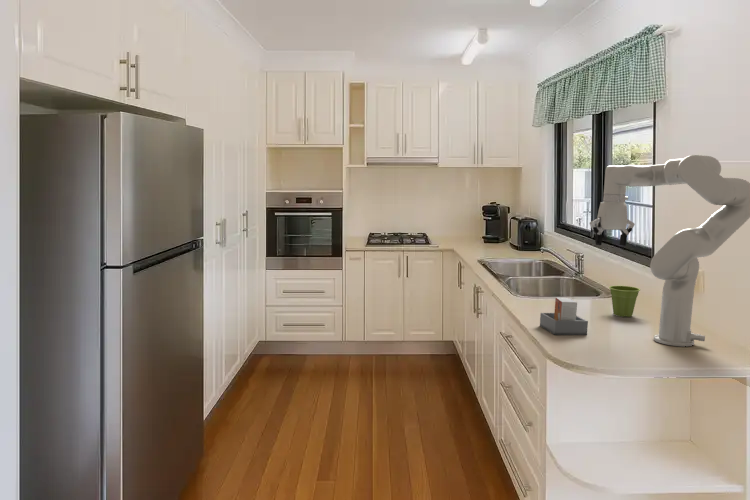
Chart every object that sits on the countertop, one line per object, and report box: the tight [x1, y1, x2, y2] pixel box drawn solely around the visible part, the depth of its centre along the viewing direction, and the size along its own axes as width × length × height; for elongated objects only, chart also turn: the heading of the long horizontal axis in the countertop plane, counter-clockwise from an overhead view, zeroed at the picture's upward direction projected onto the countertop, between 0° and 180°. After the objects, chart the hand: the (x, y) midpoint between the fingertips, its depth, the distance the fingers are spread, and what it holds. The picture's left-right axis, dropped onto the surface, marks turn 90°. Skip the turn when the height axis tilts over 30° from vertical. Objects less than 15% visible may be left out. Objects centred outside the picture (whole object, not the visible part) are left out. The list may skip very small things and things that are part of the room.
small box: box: [553, 297, 578, 321], centre depth 223 cm, size 8×6×10 cm
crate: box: [539, 312, 589, 336], centre depth 223 cm, size 12×13×5 cm
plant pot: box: [608, 285, 641, 318], centre depth 252 cm, size 12×12×11 cm
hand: (610, 245), depth 231 cm, fingers open, 9 cm apart
